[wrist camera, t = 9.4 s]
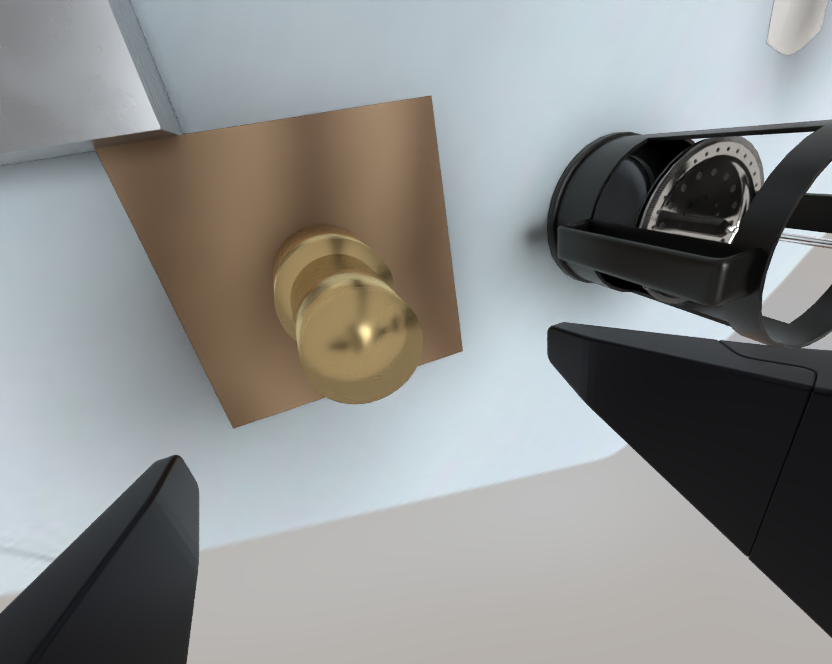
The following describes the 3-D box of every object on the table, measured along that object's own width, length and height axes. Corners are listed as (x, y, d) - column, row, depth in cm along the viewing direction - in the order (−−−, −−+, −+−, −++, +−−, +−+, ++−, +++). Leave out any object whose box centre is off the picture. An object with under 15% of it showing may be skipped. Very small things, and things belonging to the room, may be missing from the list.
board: (423, 98, 19) (431, 95, 18) (455, 344, 25) (462, 351, 24) (104, 149, 15) (94, 148, 14) (234, 418, 22) (233, 428, 21)
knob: (361, 213, 19) (428, 250, 11) (381, 305, 21) (449, 389, 13) (257, 237, 18) (250, 298, 10) (291, 332, 20) (307, 441, 12)
